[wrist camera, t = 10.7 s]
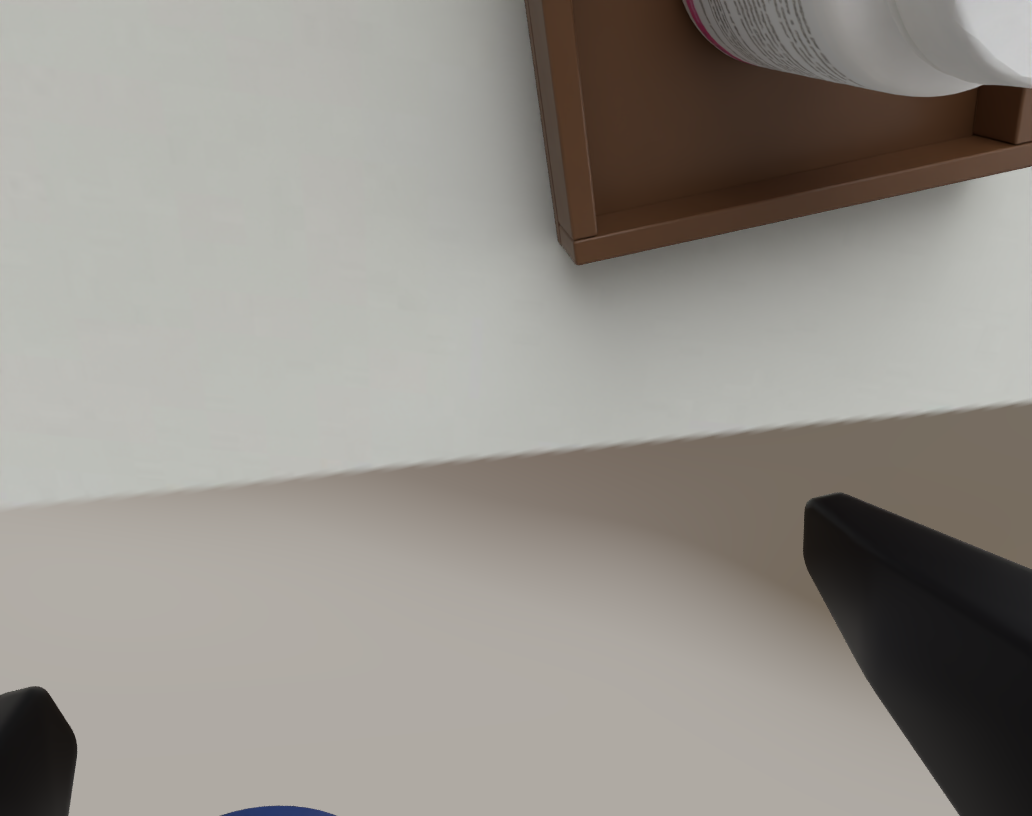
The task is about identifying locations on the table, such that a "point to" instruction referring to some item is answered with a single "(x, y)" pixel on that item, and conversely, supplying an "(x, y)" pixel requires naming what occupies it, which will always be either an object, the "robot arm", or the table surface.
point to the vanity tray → (731, 132)
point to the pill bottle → (878, 41)
